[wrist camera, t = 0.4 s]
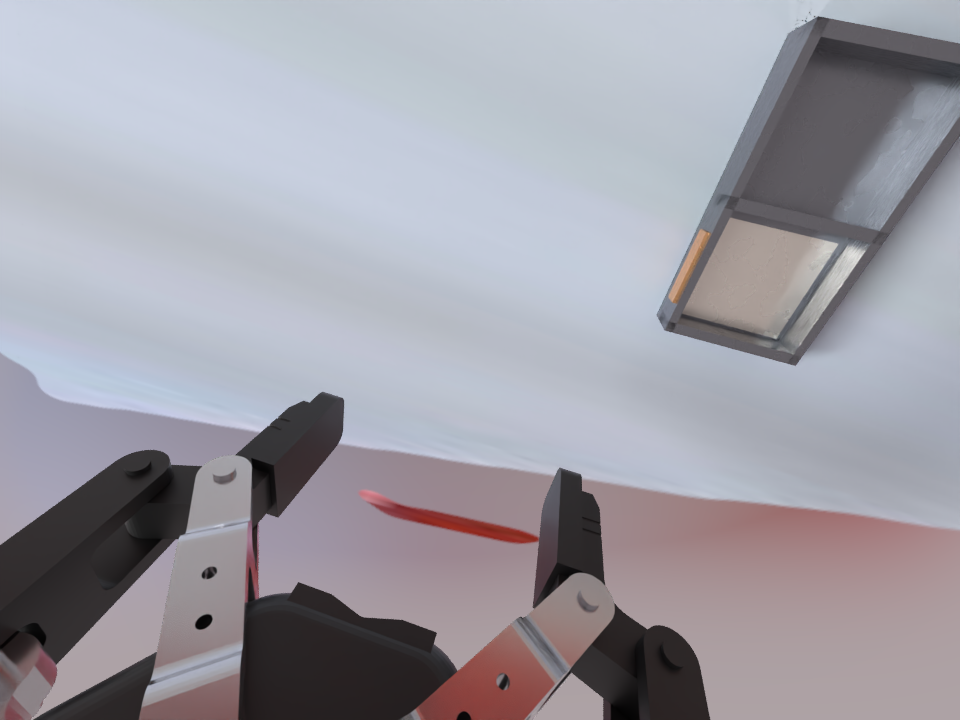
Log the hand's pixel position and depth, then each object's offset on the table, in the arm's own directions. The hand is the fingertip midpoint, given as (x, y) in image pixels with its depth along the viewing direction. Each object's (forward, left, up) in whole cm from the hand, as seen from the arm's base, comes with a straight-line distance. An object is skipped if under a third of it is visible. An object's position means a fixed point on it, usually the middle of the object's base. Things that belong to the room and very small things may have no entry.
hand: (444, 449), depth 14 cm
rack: (-9, +22, -34) cm, 41 cm away
